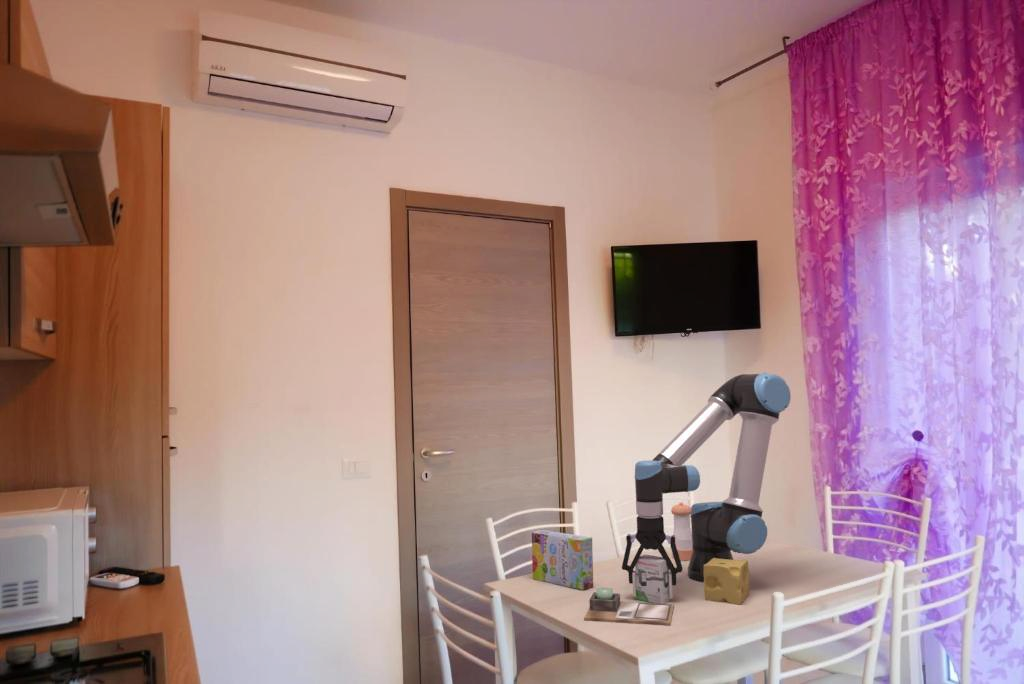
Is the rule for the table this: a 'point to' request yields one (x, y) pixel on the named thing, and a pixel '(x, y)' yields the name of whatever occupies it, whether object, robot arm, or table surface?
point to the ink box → (652, 579)
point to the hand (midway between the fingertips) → (653, 596)
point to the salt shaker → (682, 531)
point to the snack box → (562, 559)
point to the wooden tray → (628, 611)
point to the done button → (604, 593)
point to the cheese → (726, 580)
